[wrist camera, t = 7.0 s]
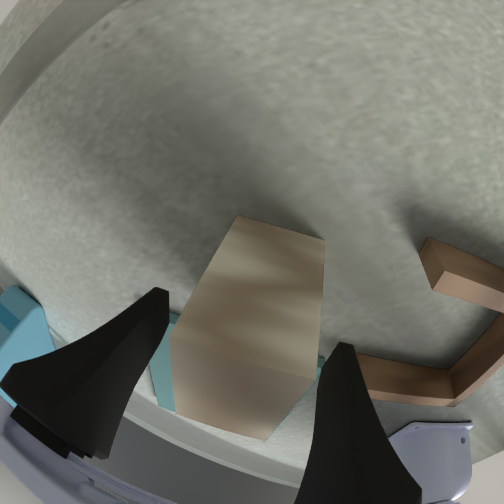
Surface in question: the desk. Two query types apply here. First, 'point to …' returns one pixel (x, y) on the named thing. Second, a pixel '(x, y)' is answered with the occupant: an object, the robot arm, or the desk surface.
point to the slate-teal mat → (163, 375)
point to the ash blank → (250, 330)
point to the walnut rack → (475, 359)
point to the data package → (21, 331)
